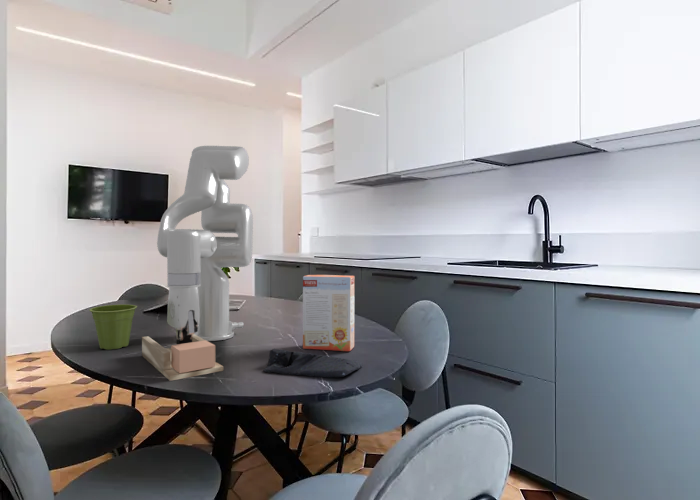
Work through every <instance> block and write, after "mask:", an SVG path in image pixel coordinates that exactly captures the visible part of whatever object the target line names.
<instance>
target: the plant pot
mask: <svg viewBox="0 0 700 500" xmlns="http://www.w3.org/2000/svg"><path fill="white" fill-rule="evenodd" d="M137 308H138V305H135V304H127V303H126V304H123V303H122V304H120V303H119V304H106V305H100V306H95V307H91V308H89V312H91V316H92V319H93V322H94V325H95V331H96V335H97V341H98V345H99V348H100V349H101V350H103V349H104V350H108V351H109V350H111V351H112V350H118V349H122V347H128V346H129V343H130V338H131V332H132V331H131V330H132V325H133V319H134V316H135V311H136V310H137Z"/></svg>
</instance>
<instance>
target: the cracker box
mask: <svg viewBox="0 0 700 500" xmlns="http://www.w3.org/2000/svg"><path fill="white" fill-rule="evenodd" d="M353 348H355V275H341V274H339V275H338V274H336V275H335V274H307V275H304V276H302V349H304V350H305V349H306V350H321V351H337V352H350V351H352V350H353Z"/></svg>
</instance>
